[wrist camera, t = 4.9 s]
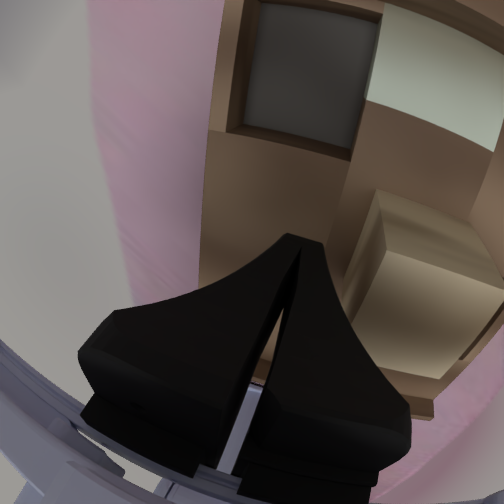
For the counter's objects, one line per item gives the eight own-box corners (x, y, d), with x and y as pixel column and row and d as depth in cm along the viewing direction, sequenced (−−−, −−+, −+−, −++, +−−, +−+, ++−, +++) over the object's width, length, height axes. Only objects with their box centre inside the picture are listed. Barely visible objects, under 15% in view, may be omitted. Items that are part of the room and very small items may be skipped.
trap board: (427, 375, 19) (430, 439, 14) (212, 315, 21) (178, 375, 17) (574, 86, 6) (639, 107, 1) (254, -40, 9) (202, -87, 4)
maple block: (427, 302, 13) (439, 379, 9) (343, 278, 13) (334, 355, 10) (470, 223, 10) (509, 292, 6) (376, 188, 11) (386, 250, 7)
